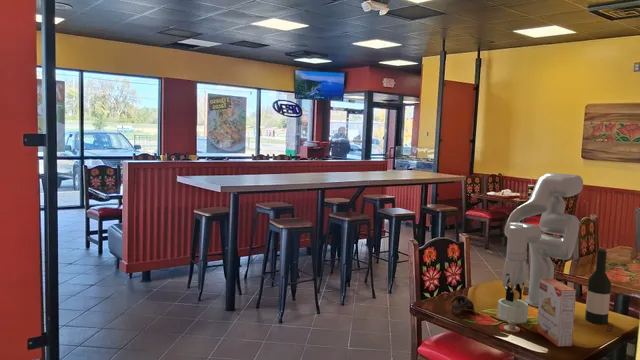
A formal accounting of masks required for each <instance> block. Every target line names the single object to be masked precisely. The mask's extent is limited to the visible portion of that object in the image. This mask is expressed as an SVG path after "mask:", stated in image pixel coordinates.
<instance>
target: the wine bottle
mask: <svg viewBox="0 0 640 360" xmlns="http://www.w3.org/2000/svg"><path fill="white" fill-rule="evenodd" d="M606 250H607V249H606V248H603V247H601V248H598V250H596V251H597V252H596V260H595V261H596V263H595V270H594V272H593V273H592V274H591V275H590V276H589V277H588V278H587V288H586V289H587V290H586V300H585V301H586V302H585V305H586V306H585V314H584V315H585V316H584V320H585V321H586V322H589V323H591V324H594V325H603V326H604V325H608V324H609V323H608V322H609V312H610V301H611V300H610V299H611V289H612V282H611V281H610V279H609V276H608V275H607V273H606V264H607V253H608V252H607V251H606Z"/></svg>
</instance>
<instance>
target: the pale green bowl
mask: <svg viewBox="0 0 640 360" xmlns="http://www.w3.org/2000/svg"><path fill="white" fill-rule="evenodd" d="M496 315H497V318H498V319H499V320H501V321H502V322H507V323H508V321H509V320H513V321H516V322H517V324H525V323H528V317H529V305H528V304H527V303H526V302H524V300H522V299H521V300H519V299H518V300H513V302H510V301H507V300H506V297H503V298H500V299H498V301H497V313H496Z"/></svg>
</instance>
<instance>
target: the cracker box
mask: <svg viewBox="0 0 640 360" xmlns="http://www.w3.org/2000/svg"><path fill="white" fill-rule="evenodd" d="M576 296H577V289H574V288H572V287H570V286H569V285H566V284H564V283H563V282H561V281H559V280H557V279H556V278H553V279H540V291H539V306H538V307H537V308H538V310H537V322H536V323H537V324H536V325H537V326H536V332H538V333H539V334H540V335H542V336H543V337H545V339H547V340H548V341H549V342H550V343H552V344H553V345H555V346H556V347H558V348H559V347H573V341H574V340H573V338H574V336H573V335H574V325H575V311H576V298H577V297H576Z"/></svg>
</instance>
